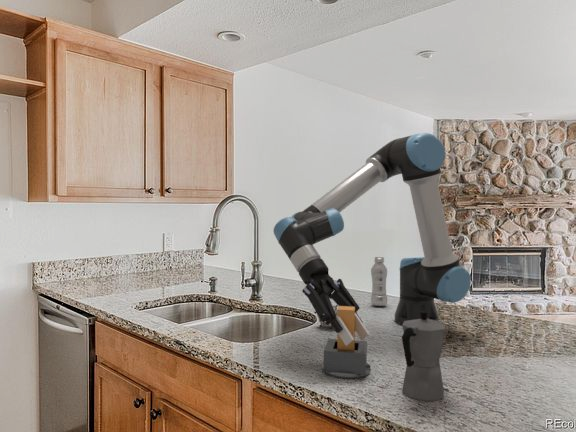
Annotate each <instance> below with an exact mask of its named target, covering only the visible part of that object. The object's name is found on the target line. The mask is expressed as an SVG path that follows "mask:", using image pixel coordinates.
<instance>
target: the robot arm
mask: <svg viewBox="0 0 576 432" xmlns="http://www.w3.org/2000/svg"><path fill="white" fill-rule="evenodd" d="M445 160H446V149H445V146H444V145H443V142H442V141H441V140H440V139H439V137H437V136H435V135H434V134H432V133H427V132H422V133H415V134H412V135H409V136H405V137H400V138H395V139H393V140H390V141H389V142H387V143H386V144H384V146H382V147H381V148H379V149H378V150H376V152H374V153H373V154H371V155H370V156H369V157H368V158H366V160H365V164H364V165H362V166H361V167H359V169H357V170H355V172H353V173H352V174H350V175H348V177H346V178H345V179H343V180H342V181H341V182H340V183H338V184H337V185H336V186H335V187H333V188H332V189H330V190H328V192H326V193H325V194H324V195H322V196H321V197H320V198H319V199H316V201H315V202H313V203H312V204H311V205H309V206H308V207H306V208H305V209H304V210H302V211H297V212H294V214H292V215H291V216H285V217H283V218H282V219H280V220H278V222H277V223H276V224H275V225H274V227H273V235H274V237H275V238H276V240H277V242H278V244H279V245H280V247H281V249H282V250H283V252H284V253H285V255H286V256H287V257H288V259H289V261H290V262H291V264H292V265H293V267H294V268H295V270H296V272H297V273H298V275H299V277H300V278H301V280H302V282H303V283H304V284H305V286H304V288H303V289H302V291H301V292H302V293H303V294H304V295H305V296H306V298H307V299H308V300H309V302H310V304H311V305H312V307H313V309H314V310H315V311H314V312H317V313H316V315H317V314H318V315H317V317H318V316H319V318H320V319H321V321H322V322H325V321H326V322H325V323H326V324H327V325H329V324H330V323H331V325H332V329H333V330H334V332H335V333H336V334H339V336H340V337H341V339H342V341H343V342H344V344H345V345H346V346H347V345H349V344H350V343H351V342H352V341H353V340H354V338H353V336H352V335H351V333H350V332H349V330H348V329H347V327H346V326H345V324H344V323H343V321H342V319H341V318H340V316H339V317H337V318H336V314H335V311H334V309H333V306H334V305H333V304H332V302H331V300H333V301H334V303H335V304H336V305H338V306H337V307H339V306H350V307H355V334H357V336H358V337H359V339H360V341H365V340H366V338H368V337H369V336H370V335H371V333H370V332H369V330H368V329H367V327H366V325H365V324H364V322H363V320H362V319H361V317H360V316H359V315H358V311H359V310H360V309H361V307H360V306H359V304H358V303H357V301H356V300H355V299H354V297H353V296H352V295H351V293H350V291H349V290H348V288H346V287H345V285H344V281H343V280H342V279H341V278H338V279H337V280H335V279H333V277H332V276H331V275H330V273H329V267H328V265H327V264H326V263H325V261H324V260H323V258H322V257H321V255H320V254H319V252H318V251H317V249H316V248H315V246H314V245H315V244H317V243H319V242H322V241H324V240H326V239H330V238H331V237H335V236H336V235H338V234H340V233H341V232H343V230H344V228H345V222H344V219H343V215H341V212H342V211H344V210H345V209H346V208H348V207H349V206H350V205H351V204H353V203H354V202H356V201H357V200H358V199H359V198H360V197H362V196H363V195H365V194H366V193H367V192H369V191H370V190H371V189H372V188H373V187H375V186H376V185H377V184H379V183H384V182H386V181H387V180H389V179H390V178H393V177H394V176H398V175H401V176H402V180H403V182H404V183H405V184H407V185H408V186H409V190H410V195H411V199H412V200H411V201H412V205H413V209H414V213H415V218H416V223H417V227H418V232H419V237H420V242H421V247H422V252H423V255H424V256H423V257H404V258H402V259H401V260H400V265H399V301H398V304H397V307H396V310H395V312H394V322H395V323H396V324H397V325H398V324H399V325H401V326H403V323H404V321H408V320H416V319H421V314H420V312H421V311H426V312H428V313H427V318H426V319H428V318H429V319H432V320H435V321H440V317H439V313H438V309H437V307H436V306H437V305H436V304H435V299H436V300H439V301H440V302H445V303H451V304H452V303H453V304H455V303H458V302H460V301H462V300H463V299H464V298H466V296H467V295H468V292H469V290H470V288H471V283H472V279H471V278H472V277H471V274H470V273H469V271H468V270H467V269H466V268H464V267H463V266H461V264H460V259H459V255H457V254H455V253H453V251H452V245H451V241H450V236H449V230H448V225H447V220H446V216H445V210H444V206H443V203H442V202H443V201H442V197H441V191H440V187H439V181H438V179H439V177H440V176H441V175H442V171H441V167H442V166H443V164H444V161H445ZM323 314H324V315H323ZM319 318H318V319H319Z"/></svg>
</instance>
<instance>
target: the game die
mask: <svg viewBox="0 0 576 432" xmlns="http://www.w3.org/2000/svg"><path fill="white" fill-rule="evenodd" d="M332 306H333V309H334V311H335V314H336V318H337V317H338V307H339V306H338V305H337V304H336V305H332ZM314 314H316V315H317V317H318V322H319V328H321V327H322V326H324V327H327V328H330V330H332V331H333V327H332V325H331V323H330V324H329V325H327V324H326V323H325V322H326V321H325V322H322V321H321V319H320V318H319V316H318V314H317V312H316V311H314ZM323 315H324V314H323Z"/></svg>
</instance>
